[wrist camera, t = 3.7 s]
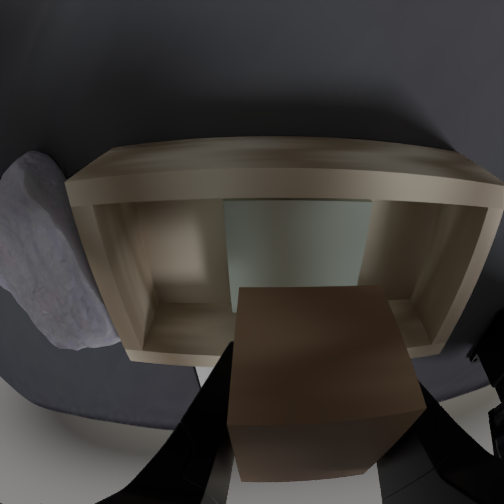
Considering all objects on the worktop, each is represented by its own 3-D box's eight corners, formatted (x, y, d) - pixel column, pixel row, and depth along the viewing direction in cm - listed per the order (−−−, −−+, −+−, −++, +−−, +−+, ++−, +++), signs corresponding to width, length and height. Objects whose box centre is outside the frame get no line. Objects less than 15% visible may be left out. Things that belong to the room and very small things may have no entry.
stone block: (81, 313, 23) (165, 299, 18) (51, 356, 19) (130, 360, 15) (-1, 195, 17) (57, 129, 13) (-45, 230, 13) (-12, 167, 9)
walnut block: (380, 284, 8) (427, 407, 5) (348, 381, 11) (363, 474, 8) (238, 287, 8) (226, 424, 5) (246, 385, 11) (241, 481, 8)
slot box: (456, 151, 13) (509, 187, 9) (415, 301, 18) (439, 354, 14) (113, 147, 13) (64, 182, 9) (151, 304, 19) (130, 360, 15)
